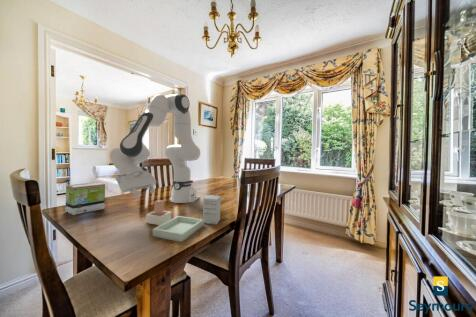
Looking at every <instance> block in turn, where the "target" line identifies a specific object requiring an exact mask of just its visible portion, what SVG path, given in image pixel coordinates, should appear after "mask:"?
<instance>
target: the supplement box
mask: <svg viewBox="0 0 476 317" xmlns="http://www.w3.org/2000/svg"><path fill="white" fill-rule="evenodd" d="M221 199H222V197H221V195H212V194H211V195H210V194H207V195H206V196H205V197H203V199H202V200H203V201H202V202H203V204H202V219H203V220H204V224H206V225H207V224H208V225H209V224H210V225H217V224H218V223H219V222H220V220H221Z"/></svg>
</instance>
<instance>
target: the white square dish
mask: <svg viewBox="0 0 476 317" xmlns="http://www.w3.org/2000/svg"><path fill="white" fill-rule="evenodd" d="M171 219H172V211H170V210H169V211H167V210H164V214H163V215H161V216H157V215H154V210H153V211H151V212H149V213H146V214H145V223H146V224H152V225H157V226H159V225H161V224H163V223H165V222H167V221H169V220H171Z"/></svg>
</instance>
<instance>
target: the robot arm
mask: <svg viewBox="0 0 476 317" xmlns="http://www.w3.org/2000/svg"><path fill="white" fill-rule="evenodd" d="M190 105H191V104H190V100H189V98H188V96H187V95H186V94H183V93H174V94H168V95H163V94H156V95H154V96H153V97H152V98H151V100H150V102H149V103H148V105H147V107H146V109H145V111H144V112H142V113H141V115H140V116H139V117H138V118H137V120H136V122H135V123H134V125H133V126H132V128H131V130H130V131H129V132H128V134H127V135H125V137H123V139H121V141H120V143H119V146H117V147H114V148H113V149H112V150H111V151H110V153H109V159H110V162H111V163H112V165H113V166H114V167H115V169H116V170H118V171H119V174H117V175H116V176H115V180H116V182H117V184H118V186H119V189H120V190H121V192H123V193H129V192H130V193H131V194H132V195H134V196H136V198H141V197H142V193H141V191H138V190H142V189H143V190H144V189H147V188H148V189H150V190H149V193H150V194H154V193H156V190H155V188H154V186H155V185H156V184H157V180H156V178H155V177H154V176H153V174H152V173H151V172H149V171H150V169H148V168H147V167H142V166H139V165H140V164H141V163H144V162H145V161H147V160H148V159H149V157H150V150H149V148H148V147H147V146H146V145H145V144H144V141H143V138H144V137H145V134H146V132H147V131H148V130H149V128H150V127H160V126H161V125H162V124H163V123H164V122H165V119H166V118H167V115H168V113H172V114H173V116H174V117H173V135H174V137H175V138H176V139H178V140H179V142H180V144H175V143H174V144H170V145H168V146H166V148H165V151H164V152H165V156H166V158H167V159H168V160H169V161H170V163H171V166H172V171H173V180H172V186H173V187H171V193H170V197H169V201H170V202H171V203H174V204H187V203H194V202H196V201H197V200H198V199H199V198H200V195H197V189H196V188H195V187H194V186H193V184H194V180H192V179H191V169H190V167H189V166H187V164H186V163H185V162H186V161H187V162H192V161H193V162H194V161H196V160H199V159H200V158H201V157H200V156H201V149H200V147H199V146H198V145H196V143H195V141H194V140H193V137H192V124H191V123H192V122H191V119H192V118H191V114H190V111H189V109H190Z"/></svg>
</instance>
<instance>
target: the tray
mask: <svg viewBox="0 0 476 317" xmlns="http://www.w3.org/2000/svg"><path fill="white" fill-rule="evenodd" d="M204 225H205V223H204V220H203V218H202V219H201V218H197V217H196V218H194V217H189V216H182V215H177V216H175V217H173V218H171V220H169V221H167V222H165V223H163V224H161V225H157V226H156V227H154V228H152V237H155V238H161V239H165V240H170V241H175V242H180V243H183V242H184V241H185V240H187V239H188V238H189V237H191V236H192V235H194V234H196V232H197V231H198V230H200V229H202V227H204Z"/></svg>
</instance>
